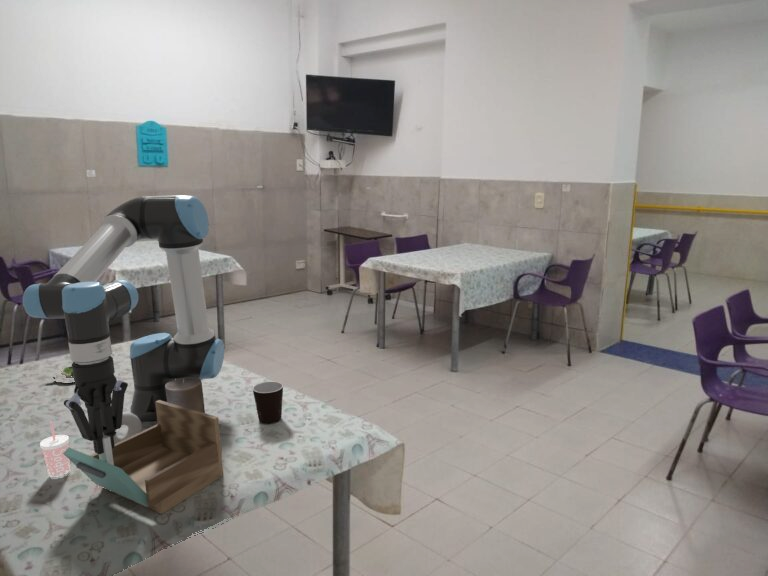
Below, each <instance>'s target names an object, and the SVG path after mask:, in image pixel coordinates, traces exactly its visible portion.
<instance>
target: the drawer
mask: <svg viewBox="0 0 768 576" xmlns="http://www.w3.org/2000/svg"><path fill="white" fill-rule="evenodd" d="M155 404H156V413H157V420H156V421H157V424H155V425H152V426H150V427H149V428H146V429H144V430H142V432H139V433H137V434H135V435H133V436H131V437H129V438H127V439H124V440H122V441H120V442H118V443H116V444H115V446H114V448H112V455H113V462H114V466H116V467H119V468H121V469H122V470H123V471H124V472H125V473H126V474H127V475H128V476H129V477H130V478H131V479H132V480H133V481H134V482H135V483H136V484H137V485H138V486H139V487H140V488H141V489H142V490H143V491H144V492H145V493H146V494H147V502H148V507H147V506H145V505H142V504H140V503H138V502H136V501H134V502H133V500H132V501H131V499H129V498H128V499H127V497H125V499H127V500H129V501H131V502H133V503H136V504H138V505H140V506H142V507H145V508H147V509H150V510H152V511H153V512H156V513H158V514H159V515H160V514H161V515H163V514H164V513H166V512H167V511H170V510H171V509H172V508H174V507H175V506H177V505H180V503H182V502H184V501H186V500H187V499H188V498H190V497H191V496H193V495H195V494H197V493H198V492H199V491H201V490H202V489H204V488H206V487H207V486H209V485H211V484H212V483H214V482H215V481H217V480H218V479H220V478H221V477H223V476H224V468H223V467H224V466H223V465H224V464H223V456H222V444H221V435H220V421H219V416H216V415H212V414H209V413H206V412H205V413H202V412H199V411H196V410H192V409H189V408H185V407H182V406H178V405H175V404H171V403H168V402H165V401H161V400H158V401H156V402H155ZM89 456H92V457H94V458H97V459H99V454H97V453H95V452H94V453H93V454H91V455H90V454H89ZM90 481H91V482H93V481H92V480H91V479H90ZM117 494H118V493H117ZM117 494H116V495H117ZM118 496H120V494H119V495H118ZM120 497H122V495H121V496H120ZM123 498H124V496H123Z"/></svg>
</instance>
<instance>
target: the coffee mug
mask: <svg viewBox="0 0 768 576" xmlns="http://www.w3.org/2000/svg"><path fill="white" fill-rule="evenodd" d="M252 393H253V398H254V402H255V408H256V413H257V417H258V422H259V423H260V424H261V425H274V424H276V423H278V422H281V420H282V413H283V393H284V384H283V383H282V382H280V381H275V380H274V381H273V380H271V381H270V380H269V381H263V382H260V383H257V384H255V385H254V386H252Z"/></svg>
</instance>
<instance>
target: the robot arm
mask: <svg viewBox="0 0 768 576" xmlns="http://www.w3.org/2000/svg"><path fill="white" fill-rule="evenodd" d="M209 226H210V221H209V215H208V213H207V209H206V207H205V206H204V203H203V202H202V201H201V200H200V198H198V197H196V196H194V195H183V194H177V195H176V194H175V195H171V194H169V195H152V196H151V195H141V196H138V197H134V198H132V199H131V198H130V199H129V200H128V201H125V202H124V203H122V204H120V205H118V206H117V207H115V208H114V209H112V210H111V211H110V212H109V213H107V215H105V217H103V218H102V220H101V221H100V224H99V229H98V230H97V231H96V232H95V233H94V234H93V235H91V237H90V238H89V239H88V240H87V241H86V242H85V243H84V245H82V246H81V248H79V250H77V252H75V254H73V256H72V257H71V258H70V259H69V260H68V261H66V263H65V264H64V265H63V266H62V267H61V268H60V269H59V271H57V272H56V273H55V274H54V275H53V276H52V278H50V279H49V280H48V282H46V283H44V282H40V283H33V284H31V285H29V286H28V287H27V288H26V289H25V291H24V292H23V294H22V306H23V308H24V311H25V313H26V314H27V315H28V316H30V317H32V318H34V319H36V318H37V319H47V320H51V319H52V320H53V319H54V320H55V319H64V320H65V326H66V327H65V328H66V331H67V332H66V333H67V340H68V350H69V355H70V357H69V358H70V361H71V362H72V363H71V366H72V371H73V377H74V381H75V383H74V384H75V386H74V390H73V393H74V394H73V395H72V397H70V399H65V400H64V401H63V406H65V407H66V408H67V409H68V410H69V411H70V414H71V415H72V418H73V419H74V422H75V424H76V426H77V428H78V431H79V432H80V435H81V438H82V439H84V440H87V441H90V442H92V443H93V451H94V454H95V453H97V454H99V460H102V461H104V462H107V463H109V464H111V465H114V462H113V455H112V448H114V446H115V444H114V437H113V436H115V435H117V430H119V429H121V428H122V426H123V425H122V415H123V412H124V402H125V394H126V392H127V389H128V387H129V384H128V382H127V381H126V382H125V381H122V380H117V377H116V375H115V373H116V372H115V363H114V357H112V354H113V350H112V342H111V334H110V324H109V323H110V322H112V321H114V320H115V319H118V318H119V317H122V316H125V315H127V314H129V312H131V311H132V310H134V309H135V308H136V307H137V304H138V302H139V293H138V290H137V288H136V287H135V285H134V284H132V282H129V280H125V279H118V280H112V281H109V282H106V283H104V282H103V283H102V282H99V281H98V280H99V279H100V278H101V277H102V275H103V274H105V272H106V271H107V269H108V268H109V267H110V266H111V265H112V264H113V262H115V260H116V259H117V258H118V257H119V255H121V253H122V252H123V251H124V249H126V248H129V247H132V246H133V245H134V244H135V243H136V242H137V241H140V240H148V239H149V240H157V241H158V247H159V248H160V249H161V250H162V251H164V252H165V255H166V261H167V268H168V274H169V281H170V288H171V289H170V290H171V295H172V300H173V301H172V302H173V308H174V313H175V321H176V328H177V332H176V334H175V335H174V336H173V337H172V335H171V334H170V333H168V332H160V333H153V334H149V335H146V336H142V337H140V338H137V339H136V340H134V341H132V342H131V344H130V346H129V359H130V364H131V373H132V380H133V389H134V391H133V395H132V400H131V405H130V413H133V414H134V415H136V416H137V417H138V418H139V419H140V421H141V422H142V421H143V422H148V421H149V422H150V421H157V413H156V404H155V402H156V401H158V400H161V401H165V402H167V396H166V389H165V385H166V384H167V383H168V382H170V381H172V380H175V379H178V378H184V377H197V378H199V379H201V381H203V380H210V379H211V380H212V379H215V378H216V377H217V376H218V375H219V374H220V371H221V369H222V367H223V363H224V359H225V344H224V342H223V339H220V338H216V332H215V331H214V329H212V327H211V328H210V326H209V319H208V313H207V312H208V311H207V305H206V304H207V303H206V296H205V288H204V283H203V282H204V281H203V274H202V266H201V260H200V252H199V249H200V248H201V246H202V245H203V244H204V239H205V238H207V236H208V234H209ZM81 401H82V402H83V403H84V406H85V408H86V410H87V411H86V412H87V416H86V414H85V412H84V409H83V408H82V407H81V406H82V403H81ZM115 430H116V431H115ZM103 433H104V434H103Z"/></svg>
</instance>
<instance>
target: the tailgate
mask: <svg viewBox="0 0 768 576" xmlns="http://www.w3.org/2000/svg"><path fill="white" fill-rule="evenodd" d="M63 454H64V455H65V456H66V457H67V458H68V459H69V460H70V462H72V464H74V465H75V466H76V469H79V470H80V471H81V472H82V473H83V474H85V476H86V477H88V478H89V479H90V481H91V480H92V481H91V482H93V483H94V484H95V485H98V486H99V487H101V488H102V487H104V488H106V489H108V490H111V491H113V492H115V493H118V494H120V495H122V496H124V497H127V498H129V499H131V500H133V501H136V502H138V503H140V504H142V505H145V506H147V507H148V502H147V494H146V493H145V492H144V491H143V490H142V489H141V488H140V487H139V486H138V485H137V484H136V483H135V482H134V481H133V480H132V479H131V478H130V477H129V476H128V475H127V474H126V473H125V472H124V471H123V470H122V469H121V468H119V467H116V466H114V465H111V464H109V463H107V462H104V461H102V460H99V459H97V458H94V457H92V456H90V454H86V453H84V452H82V451H79V450H76V449H74V448H71V447H70V446H69V447H68V449H67V450H66V451H65V452H64V453H63ZM104 488H103V489H104ZM106 489H105V490H106ZM108 490H107V491H108ZM111 491H110V492H111ZM113 492H112V493H113ZM115 493H114V494H115ZM120 495H119V496H120ZM122 496H121V497H122ZM124 497H123V498H124ZM127 498H126V499H127ZM129 499H128V500H129ZM131 500H130V501H131ZM133 501H132V502H133ZM136 502H135V503H136ZM138 503H137V504H138ZM140 504H139V505H140ZM142 505H141V506H142ZM145 506H144V507H145ZM147 507H146V508H147Z"/></svg>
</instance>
